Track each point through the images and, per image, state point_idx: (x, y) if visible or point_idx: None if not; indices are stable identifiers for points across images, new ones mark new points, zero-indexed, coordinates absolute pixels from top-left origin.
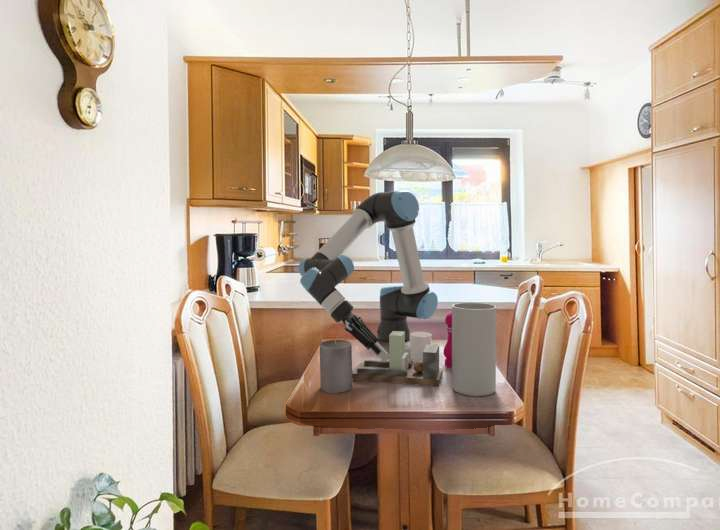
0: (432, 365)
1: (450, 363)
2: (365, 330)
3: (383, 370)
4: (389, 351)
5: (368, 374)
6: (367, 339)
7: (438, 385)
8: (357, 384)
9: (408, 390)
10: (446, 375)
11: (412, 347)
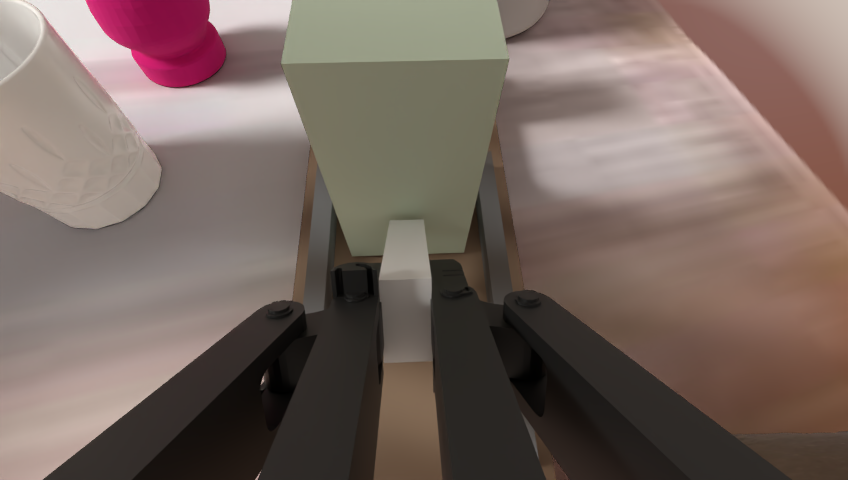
0: None
1: (213, 52)
2: (357, 428)
3: (508, 269)
4: (480, 176)
5: None
6: (587, 326)
7: None
8: None
9: (575, 164)
10: None
11: (70, 159)
